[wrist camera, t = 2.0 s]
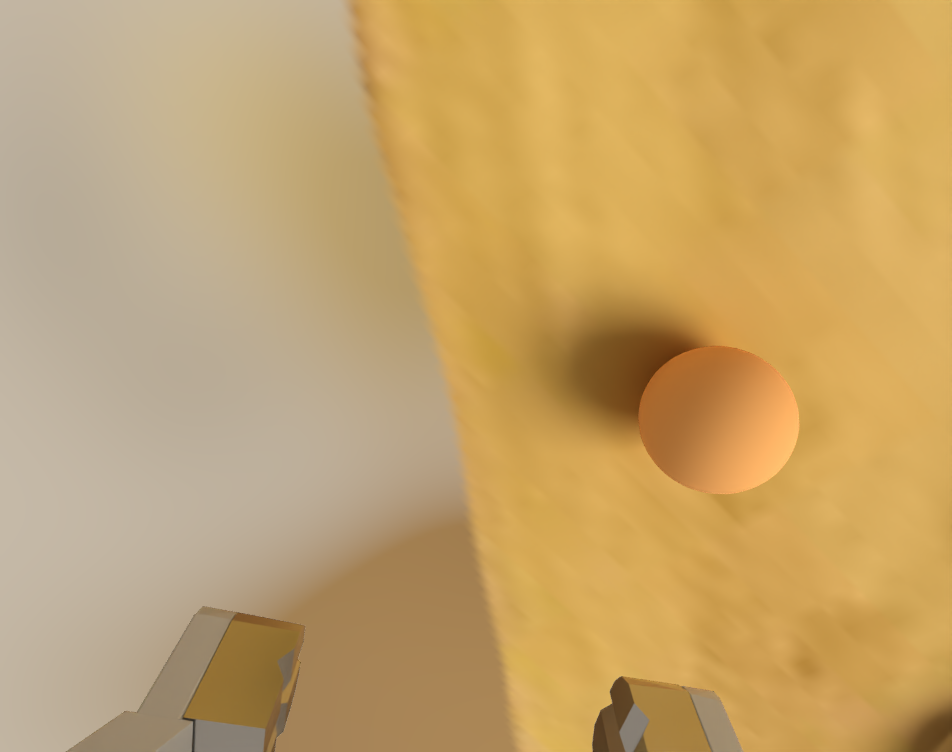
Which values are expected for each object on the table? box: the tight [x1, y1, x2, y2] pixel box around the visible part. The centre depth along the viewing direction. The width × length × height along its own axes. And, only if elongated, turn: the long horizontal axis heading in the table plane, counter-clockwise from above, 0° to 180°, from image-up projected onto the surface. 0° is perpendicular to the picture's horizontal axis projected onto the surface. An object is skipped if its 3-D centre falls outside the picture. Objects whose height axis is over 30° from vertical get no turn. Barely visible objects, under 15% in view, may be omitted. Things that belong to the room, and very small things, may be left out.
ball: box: [638, 346, 799, 494], centre depth 21 cm, size 6×6×6 cm
